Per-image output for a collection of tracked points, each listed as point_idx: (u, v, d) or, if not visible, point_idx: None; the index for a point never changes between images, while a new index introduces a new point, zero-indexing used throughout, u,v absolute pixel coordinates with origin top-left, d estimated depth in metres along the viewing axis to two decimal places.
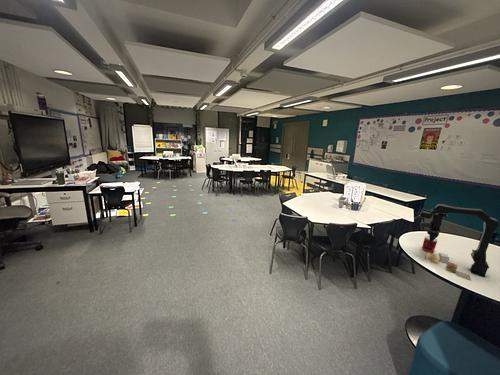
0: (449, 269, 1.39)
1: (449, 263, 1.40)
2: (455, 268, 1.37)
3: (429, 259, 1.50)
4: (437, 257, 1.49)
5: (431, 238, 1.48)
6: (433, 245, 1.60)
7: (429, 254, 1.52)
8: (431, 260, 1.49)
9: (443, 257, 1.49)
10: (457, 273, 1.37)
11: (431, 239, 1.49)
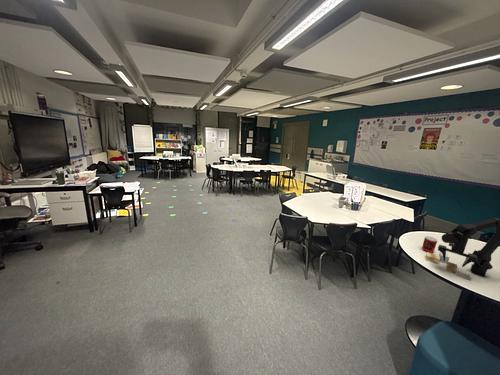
0: (449, 269, 1.39)
1: (449, 263, 1.40)
2: (455, 268, 1.37)
3: (429, 259, 1.50)
4: (437, 257, 1.49)
5: (443, 256, 1.42)
6: (433, 245, 1.60)
7: (429, 255, 1.52)
8: (431, 260, 1.49)
9: None
10: (457, 273, 1.37)
11: (443, 257, 1.42)
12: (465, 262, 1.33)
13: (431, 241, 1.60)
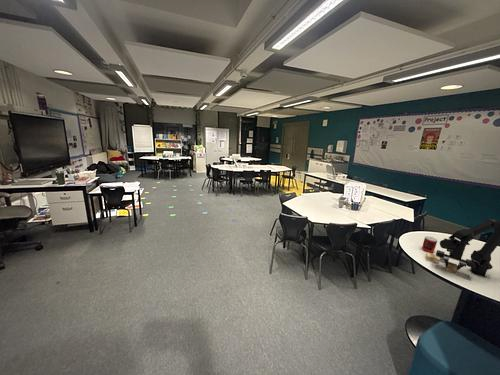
0: (449, 269, 1.39)
1: (449, 263, 1.40)
2: (455, 268, 1.37)
3: (429, 259, 1.50)
4: (437, 257, 1.49)
5: (445, 263, 1.42)
6: (433, 245, 1.60)
7: (429, 255, 1.52)
8: (431, 260, 1.49)
9: None
10: (457, 273, 1.37)
11: (445, 264, 1.42)
12: (458, 266, 1.36)
13: (431, 241, 1.60)
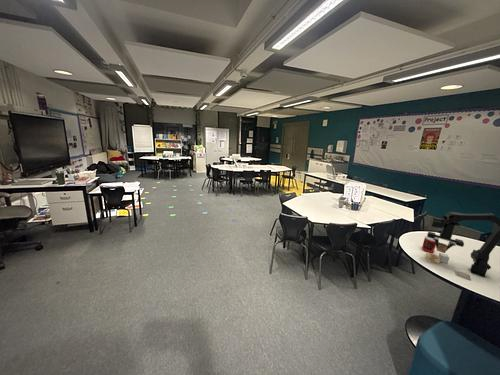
0: (439, 249, 1.44)
1: (439, 243, 1.45)
2: (445, 248, 1.42)
3: (430, 259, 1.50)
4: (437, 257, 1.49)
5: None
6: (433, 245, 1.60)
7: (429, 255, 1.52)
8: (432, 260, 1.49)
9: (443, 257, 1.49)
10: (457, 273, 1.37)
11: None
12: (448, 246, 1.41)
13: (431, 241, 1.60)
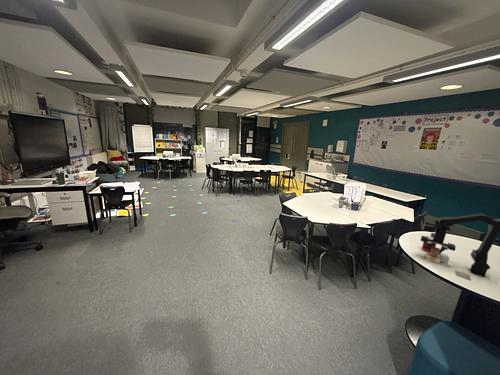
0: (432, 253, 1.49)
1: (432, 247, 1.50)
2: (438, 251, 1.47)
3: (430, 259, 1.50)
4: (437, 257, 1.49)
5: (429, 247, 1.52)
6: (433, 245, 1.60)
7: (429, 255, 1.51)
8: (432, 260, 1.49)
9: (443, 257, 1.49)
10: (457, 273, 1.37)
11: (429, 248, 1.52)
12: (440, 250, 1.46)
13: None
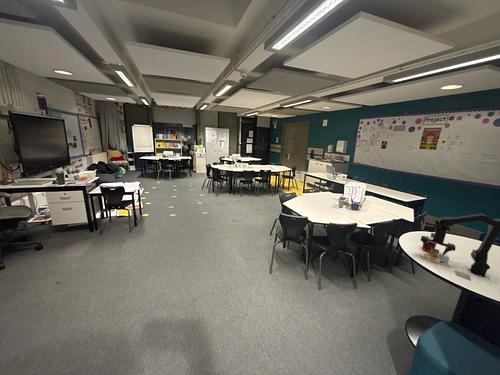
0: (432, 254, 1.49)
1: (432, 249, 1.51)
2: (437, 253, 1.47)
3: (430, 259, 1.50)
4: None
5: (425, 246, 1.53)
6: (433, 245, 1.60)
7: None
8: (432, 260, 1.49)
9: (443, 257, 1.49)
10: (457, 273, 1.37)
11: (425, 247, 1.53)
12: (444, 251, 1.45)
13: None
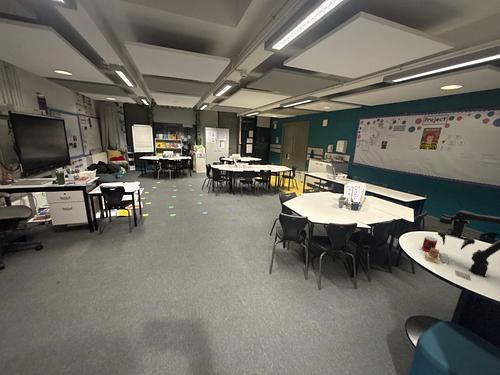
0: (432, 254, 1.49)
1: (432, 249, 1.51)
2: (437, 253, 1.47)
3: (430, 259, 1.50)
4: (437, 257, 1.49)
5: None
6: (433, 245, 1.60)
7: None
8: (432, 260, 1.49)
9: (443, 257, 1.49)
10: (457, 273, 1.37)
11: None
12: (463, 245, 1.43)
13: (431, 241, 1.60)
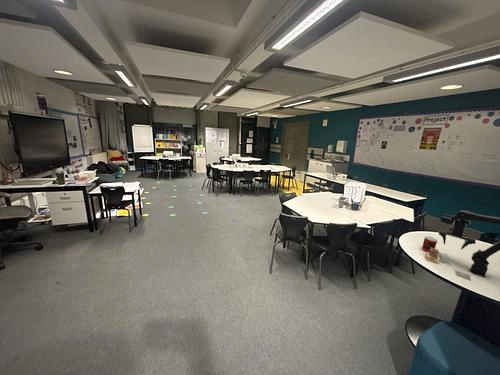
0: (432, 254, 1.50)
1: (431, 249, 1.51)
2: (437, 253, 1.47)
3: (430, 259, 1.50)
4: (437, 257, 1.49)
5: None
6: (433, 245, 1.60)
7: None
8: (432, 260, 1.49)
9: (443, 257, 1.49)
10: (457, 273, 1.37)
11: None
12: (464, 244, 1.43)
13: (431, 241, 1.60)
